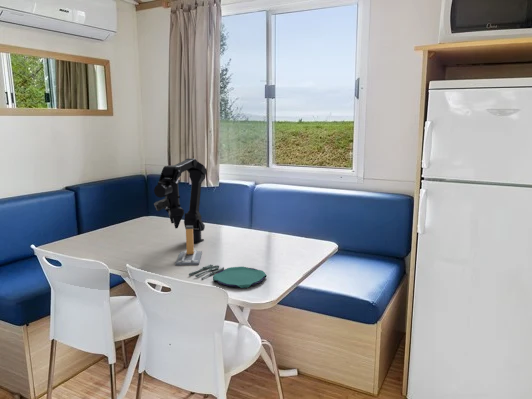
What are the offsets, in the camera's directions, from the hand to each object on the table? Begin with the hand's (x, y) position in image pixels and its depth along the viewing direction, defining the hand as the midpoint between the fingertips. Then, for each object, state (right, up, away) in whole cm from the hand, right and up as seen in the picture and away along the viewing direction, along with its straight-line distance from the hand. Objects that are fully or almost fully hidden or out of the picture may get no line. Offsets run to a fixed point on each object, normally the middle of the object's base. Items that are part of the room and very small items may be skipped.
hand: (174, 225), depth 193 cm
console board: (+8, -15, -7) cm, 18 cm away
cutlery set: (+28, -19, -28) cm, 44 cm away
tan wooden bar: (+8, -13, -3) cm, 15 cm away
